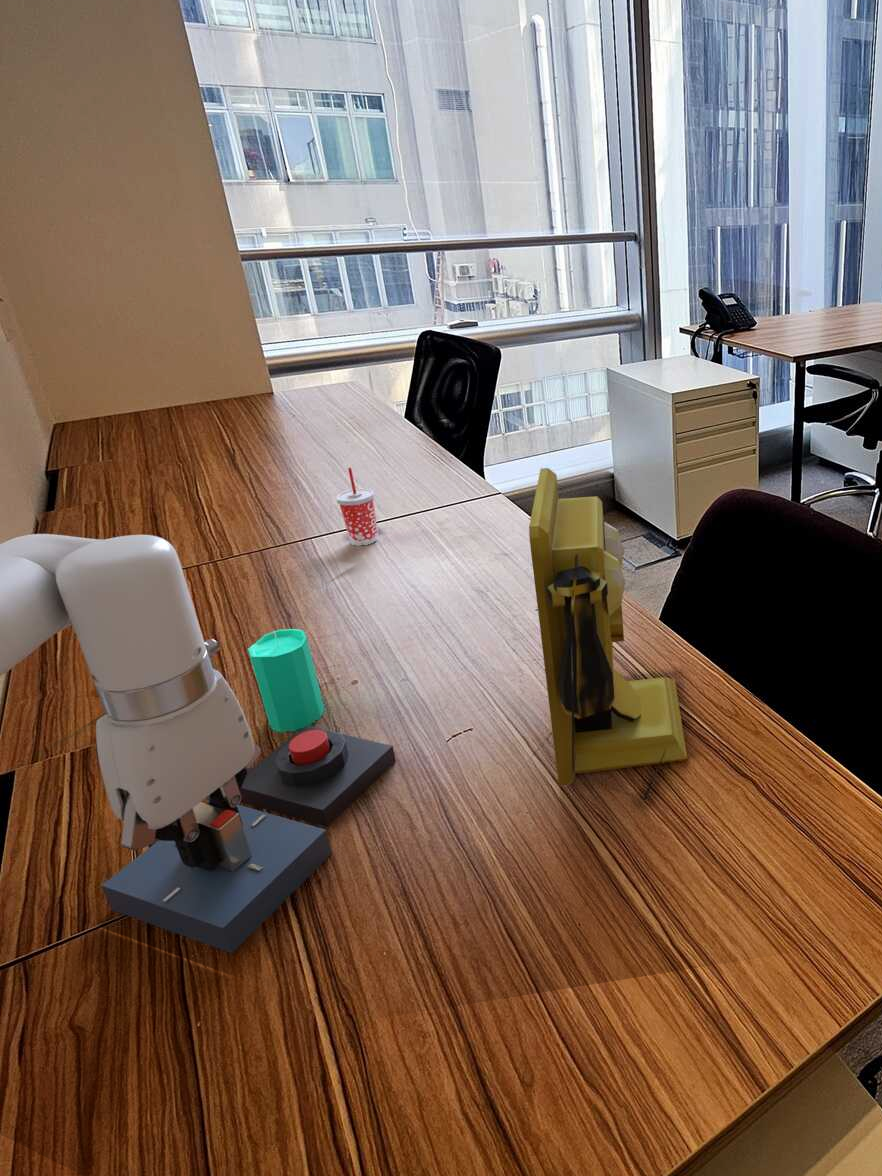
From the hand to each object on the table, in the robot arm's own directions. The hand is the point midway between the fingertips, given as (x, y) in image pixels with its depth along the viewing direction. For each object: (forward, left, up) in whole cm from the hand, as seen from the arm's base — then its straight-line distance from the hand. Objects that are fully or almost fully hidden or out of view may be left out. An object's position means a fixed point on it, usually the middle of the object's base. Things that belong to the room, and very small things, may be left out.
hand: (216, 851), depth 70 cm
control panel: (0, 0, -4) cm, 4 cm away
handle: (0, 0, 0) cm, 0 cm away
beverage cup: (-42, +65, -4) cm, 77 cm away
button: (-2, +13, 0) cm, 13 cm away
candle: (-13, +21, -4) cm, 25 cm away
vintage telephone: (+26, +30, -4) cm, 40 cm away
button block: (-2, +13, -4) cm, 14 cm away
